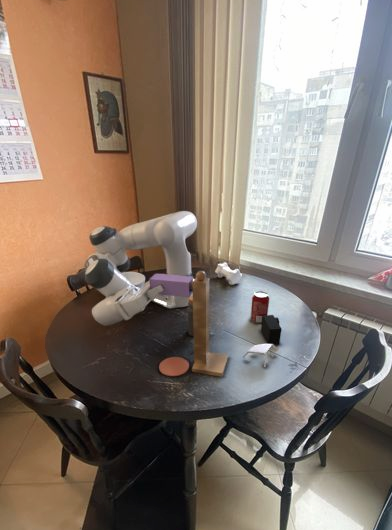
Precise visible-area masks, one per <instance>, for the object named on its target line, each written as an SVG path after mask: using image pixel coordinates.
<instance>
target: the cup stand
mask: <svg viewBox="0 0 392 530" xmlns="http://www.w3.org/2000/svg"><path fill="white" fill-rule="evenodd" d="M193 279H194V281H190V283H189V289H193V324H194V336H193V354H194V355H193V356H194V362H193V365H192V366H191V367H192V368H191V372H192V373H196V374H203V375H210V376H216V377H221V378H223V376H224V372H225V371H226V370H225V369H226V366H227V363H228V360H229V354H223V353H217V352H210V277H207V274H206V272H205V271H203V270H199V271H197V272H196V273H195V278H193Z"/></svg>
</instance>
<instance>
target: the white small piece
mask: <svg viewBox="0 0 392 530" xmlns="http://www.w3.org/2000/svg"><path fill="white" fill-rule="evenodd" d="M271 348H273V349H275V350H273V351H272V352H271V353H270V356H271V358H274V357H275V356H274V355H273V354H274V353H275V352H277V351H278V350H279V349H278V348H277V346H276V345H274V344H267V343H260V344H254V345H253V346H252V347H251V348H250V349H248V350H247V351H246V353H245V354H244V355H243V356H242V358H243V359H245V363H248V362H249V361H250V360H249V359H248V358H246V357H247V356H248V355H249V354H253V355H252V357H253V358H255V356H256V354H259V355H260V354H261V355H264V360H265V361H263V367H264V368H267V364H268V363H269V360H268V356H267V353H268V351H269V350H270V349H271Z"/></svg>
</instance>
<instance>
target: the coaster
mask: <svg viewBox="0 0 392 530" xmlns="http://www.w3.org/2000/svg"><path fill="white" fill-rule="evenodd" d="M158 370H159V372H160V373H161V374H162V375H164V376H167V377H171V378H173V377H179V376H183V375H184V374H186V373H187V372H188V371H189V370H190V363H189V361H188V360H186V358H183V357H180V356H171V357H167V358H164V359H163V360H161V362H160V363H159V365H158Z"/></svg>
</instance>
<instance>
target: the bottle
mask: <svg viewBox="0 0 392 530" xmlns="http://www.w3.org/2000/svg"><path fill="white" fill-rule="evenodd" d="M188 299H189V302H188V305H189V306H187V309H186V310H187V332H188V335H190V336H191V337H194V324H193V295H192V296H190V297H189V298H188Z"/></svg>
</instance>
